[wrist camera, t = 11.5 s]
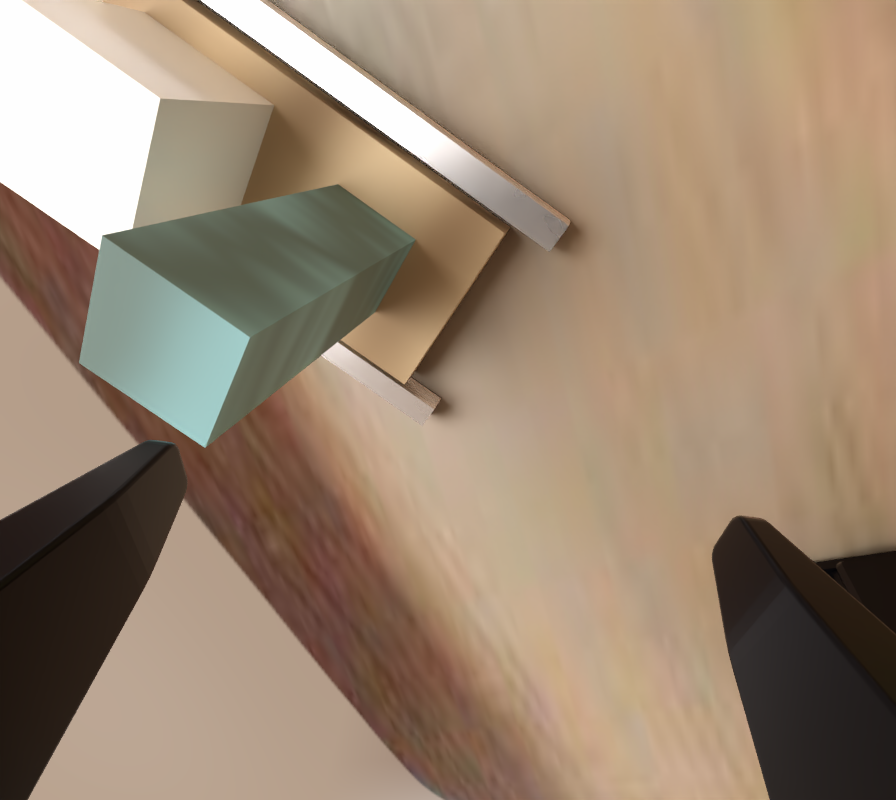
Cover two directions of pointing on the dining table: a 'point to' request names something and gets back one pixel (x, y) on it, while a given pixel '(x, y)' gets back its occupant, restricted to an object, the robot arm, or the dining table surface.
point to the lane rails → (414, 131)
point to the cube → (119, 118)
